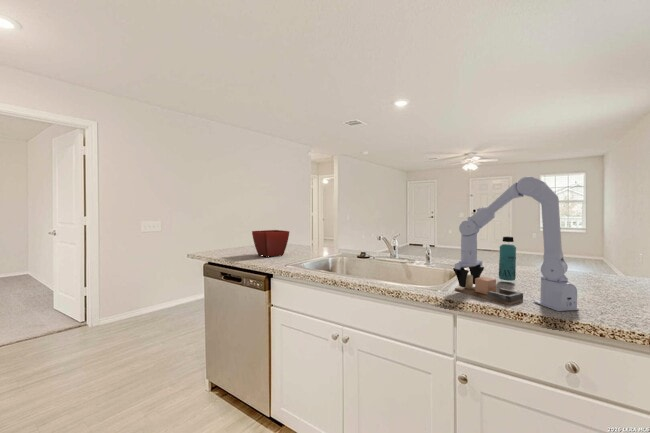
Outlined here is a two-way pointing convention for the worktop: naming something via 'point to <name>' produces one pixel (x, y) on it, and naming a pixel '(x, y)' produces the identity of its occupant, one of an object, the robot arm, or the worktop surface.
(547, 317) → the worktop surface
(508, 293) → the lane shelf
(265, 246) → the plant pot
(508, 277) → the beverage bottle
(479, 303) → the worktop surface
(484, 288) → the clay block
